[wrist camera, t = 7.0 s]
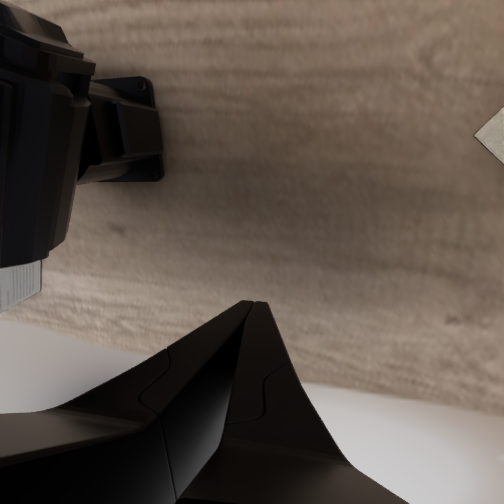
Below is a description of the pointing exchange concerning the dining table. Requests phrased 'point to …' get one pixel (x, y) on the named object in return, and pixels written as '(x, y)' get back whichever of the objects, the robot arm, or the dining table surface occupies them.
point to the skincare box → (18, 284)
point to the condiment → (493, 135)
